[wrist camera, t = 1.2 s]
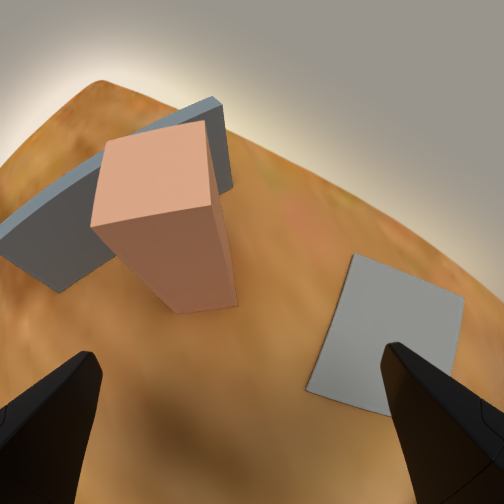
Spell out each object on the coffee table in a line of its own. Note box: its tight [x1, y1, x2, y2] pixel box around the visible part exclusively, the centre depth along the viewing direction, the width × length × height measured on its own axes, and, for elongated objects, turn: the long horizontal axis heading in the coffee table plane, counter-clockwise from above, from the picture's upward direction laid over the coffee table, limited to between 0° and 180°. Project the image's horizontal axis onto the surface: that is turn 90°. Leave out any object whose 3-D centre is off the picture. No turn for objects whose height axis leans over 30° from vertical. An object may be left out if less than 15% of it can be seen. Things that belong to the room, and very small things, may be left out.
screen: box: [0, 96, 233, 293], centre depth 22 cm, size 20×2×10 cm, turn 124°
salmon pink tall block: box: [90, 120, 238, 314], centre depth 18 cm, size 5×5×14 cm
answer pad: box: [305, 253, 465, 417], centre depth 21 cm, size 12×12×1 cm
